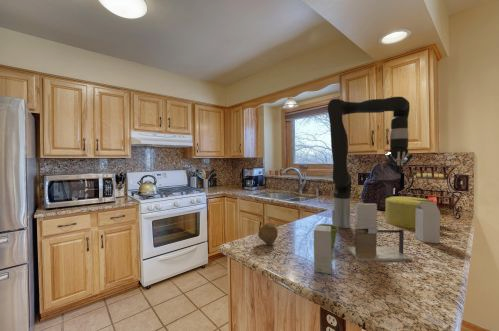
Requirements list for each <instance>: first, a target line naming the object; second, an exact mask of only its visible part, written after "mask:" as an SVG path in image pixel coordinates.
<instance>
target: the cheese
mask: <svg viewBox="0 0 499 331" xmlns="http://www.w3.org/2000/svg"><path fill="white" fill-rule="evenodd" d="M419 202H435V201H434V200H431V199H427V198H424V197H423V198H421V197H416V196H415V197H414V196H400V195H399V196H397V195H396V196H389V197H386V198H385V215H384V216H385V218H384V219H385V222H387V223H389V224H391V225H393V224H394V226H397V225H398V227H401V226H402V227H403V228H407V229H408V228H409V229H415V221H416V207H417V206H418V205H419Z"/></svg>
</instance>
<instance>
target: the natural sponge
mask: <svg viewBox="0 0 499 331" xmlns="http://www.w3.org/2000/svg"><path fill="white" fill-rule="evenodd" d="M278 233H279V231H278V227H276V226H275V225H274V224H272V223H268V222H267V223H264V224H263V225H262V226H261V227H260V229H259V231H258V233H257V235H258V238H259V239H260V240H261V241H263V242H264V243H265V244H266V245H268V246H271V245H273V244H274V243H275V241H276V240H277V238H278Z"/></svg>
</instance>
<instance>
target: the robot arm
mask: <svg viewBox="0 0 499 331" xmlns="http://www.w3.org/2000/svg"><path fill="white" fill-rule="evenodd" d="M384 112H393V113H392V119H391V121H390V133H389V135H390V136H389V148H390V150H389V151H388V153H387V154H385V155H384V157H385V158H386V160H388V162H389V164H390V165H393V166H394V172H395V174H401V173H402V172H403V166H405V165H407V164H408V163H409V162H410V161H411V159H412V158H413V155H414V154H412V153H409V149H408V148H409V115H410V102H409V100H408V99H406V98H405V97H403V96H390V97H386V98H374V99H373V98H372V99H371V98H370V99H366V100H361V101H346V100H343V99H340V98H332V99H330V101H329V102H328V104H327V113H328V119H329V120H328V121H329V127H330V128H329V130H330V146H331V147H330V148H331V157H332V182H333V183H334V191H333V204H332V205H333V209H332V212H331V214H332V217H331V218H332V220H331V222H332V223H331V225H334V226H337V227H338V228H339V229H349V228H350V227H351V195H352V194H351V193H352V175H351V174H350V172H348V164H347V161H348V160H347V159H348V152H349V138H348V137H349V136H348V134H347V133H348V132H347V131H346V128H345V126H344V122H343V116H344V115H345V116H346V115H350V114H351V115H352V114H376V113H377V114H378V113H379V114H380V113H384Z"/></svg>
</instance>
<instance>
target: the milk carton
mask: <svg viewBox="0 0 499 331" xmlns="http://www.w3.org/2000/svg"><path fill="white" fill-rule="evenodd" d="M414 230H415V231H414V232H415V233H414V234H415V235H414V238H416V239H418V240H419V241H421V242H422V243H434V244H440V242H441V241H440V238H441V236H440V235H441V211H440V209H439V207H438V205H437V202H436V201H434V202H419V205H418V206H417V207H416V221H415V228H414Z"/></svg>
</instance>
